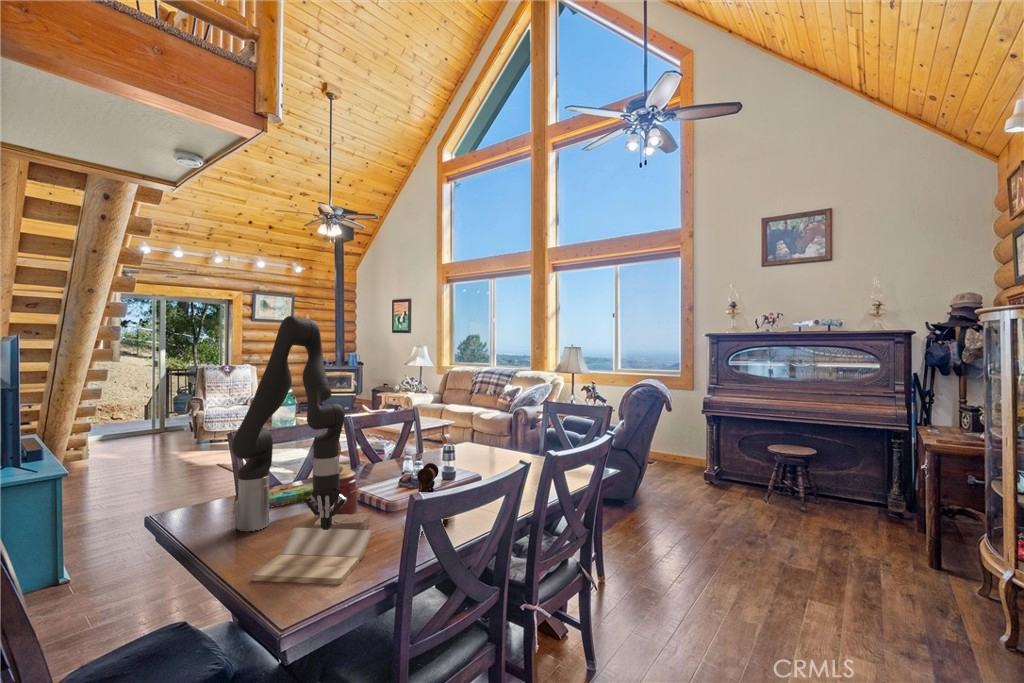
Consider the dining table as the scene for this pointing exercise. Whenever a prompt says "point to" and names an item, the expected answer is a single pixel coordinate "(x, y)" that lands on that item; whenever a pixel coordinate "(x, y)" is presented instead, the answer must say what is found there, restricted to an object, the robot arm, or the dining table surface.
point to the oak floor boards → (307, 569)
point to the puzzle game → (290, 494)
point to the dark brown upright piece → (428, 479)
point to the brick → (348, 521)
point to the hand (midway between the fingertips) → (326, 528)
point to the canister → (348, 491)
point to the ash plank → (326, 542)
